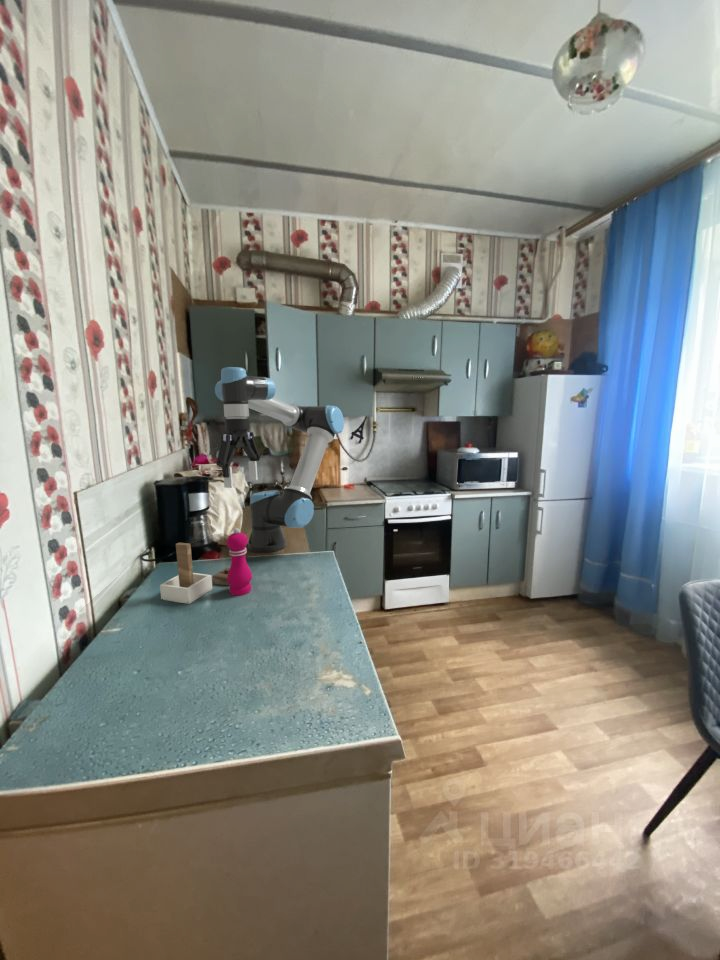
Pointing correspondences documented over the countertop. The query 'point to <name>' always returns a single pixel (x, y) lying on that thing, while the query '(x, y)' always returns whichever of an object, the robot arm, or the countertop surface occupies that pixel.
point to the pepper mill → (238, 564)
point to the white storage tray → (186, 589)
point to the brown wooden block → (184, 564)
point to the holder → (221, 577)
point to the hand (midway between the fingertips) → (241, 483)
